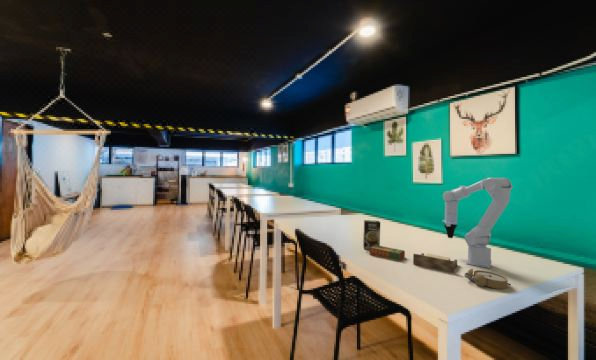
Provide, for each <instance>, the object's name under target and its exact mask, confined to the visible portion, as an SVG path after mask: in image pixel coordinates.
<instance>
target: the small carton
mask: <svg viewBox="0 0 596 360" xmlns="http://www.w3.org/2000/svg"><path fill="white" fill-rule="evenodd" d="M424 256H430V257H435V258H440V259H445V260H450V261H451V258H450V257H448V256H444V255H437V254H432V253H427V254H426V255H425V254H424Z"/></svg>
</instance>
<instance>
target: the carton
mask: <svg viewBox="0 0 596 360" xmlns="http://www.w3.org/2000/svg"><path fill="white" fill-rule="evenodd" d="M369 255H370V256H374V257H378V256H379V258H384V259H388V260H394V261H398V262H400V261H402V260H403V259H404V258H405V256H406V251H405V250H404V249H399V248H398V249H397V248H393V247H388V246H382V245H380V246H378V245H375V246H373V247H371V248H370V249H369Z"/></svg>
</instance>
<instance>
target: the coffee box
mask: <svg viewBox="0 0 596 360" xmlns="http://www.w3.org/2000/svg"><path fill="white" fill-rule="evenodd" d="M362 239H363V240H362V242H363V243H362V247H363V250H370V248H371V247H373V246H375V245H378V246H381V245H380V244H381V221H379V220H369V219H368V220H367V219H364V220H363V238H362Z"/></svg>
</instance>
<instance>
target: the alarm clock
mask: <svg viewBox="0 0 596 360" xmlns="http://www.w3.org/2000/svg"><path fill="white" fill-rule="evenodd" d="M464 278H466V279H467V280H469V281H473V282H474V284H475V285H476V286H478V287H488V288H492V289H498V290H507V288H508V286H512V284H511V283H509V282H508V281H509V280H508V278H507V277H505V276H504V275H501V274H498V273H494V272H491V271H485V270H480V269H476V270H474V269H473V268H471V269H468V270H467V272H465V273H464Z"/></svg>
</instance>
